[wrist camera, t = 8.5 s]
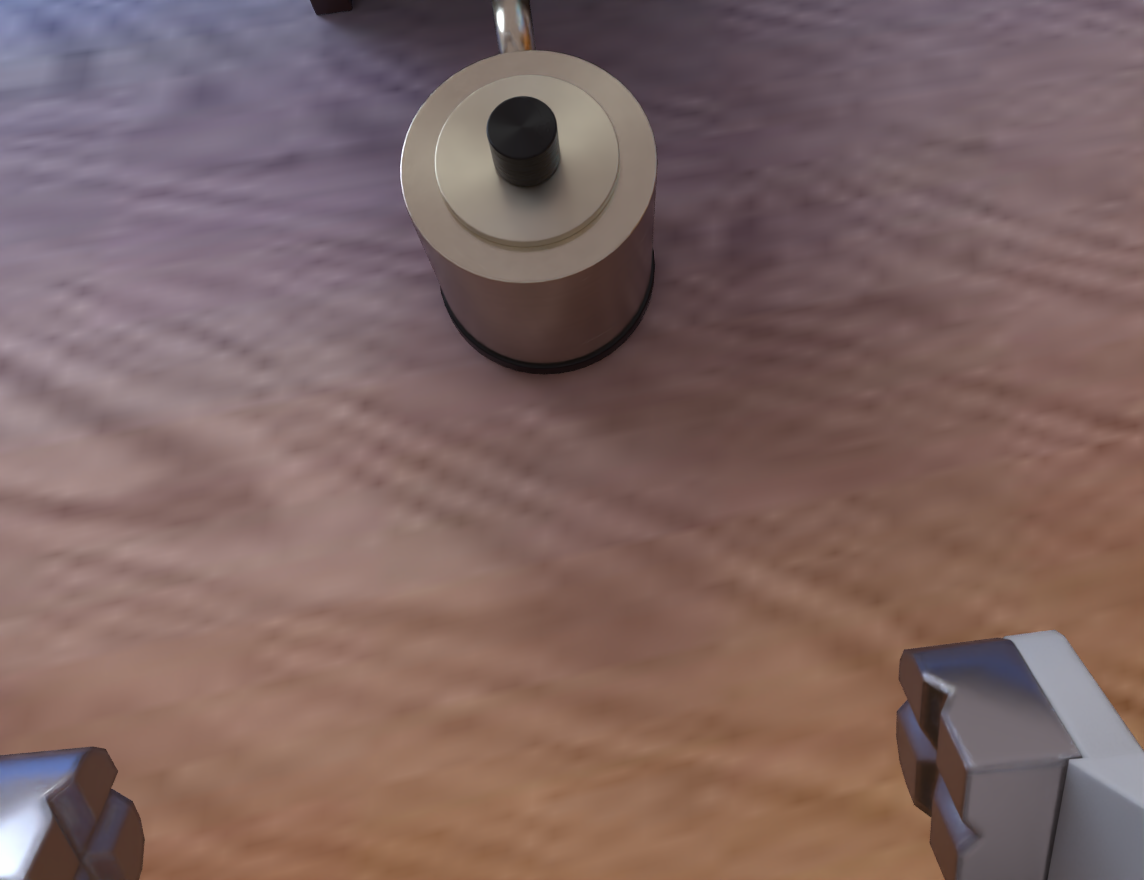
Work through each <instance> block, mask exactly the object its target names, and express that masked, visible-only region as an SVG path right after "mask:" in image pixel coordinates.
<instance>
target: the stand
mask: <svg viewBox="0 0 1144 880" xmlns="http://www.w3.org/2000/svg"><path fill="white" fill-rule="evenodd" d="M310 1H311V4H312V6H313V8H314V10H315V13H316V14H317V15H321V14H329V13H337V12H344V11H351V10H352V0H310Z"/></svg>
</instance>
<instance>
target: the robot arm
mask: <svg viewBox="0 0 1144 880" xmlns="http://www.w3.org/2000/svg"><path fill="white" fill-rule="evenodd" d="M899 681H900V684H901V686H902V688H903V690H904V693H905V695H906V697H907V701H906V702H905V703H904V704H903V705H902V706H901V707H900V708H899V710H898V711H897V721H896V738H897V745H898V753H899V760H900V765H901V768H902V772H903V775H904V779H905V782H906V785H907V788H908V790H909V793H910V795H911V798H912V801H913V803H914V805H915V806H916V807H918V808H919V809H920V810H922V811H923V812H925V813H926V814H927V815H929V816H930V817H931V830H930V845H931V848H932V850H933V852H934V855H935V857H936V860H937V862H938V864H939V867H940V869H941V872H942V874H943V876H944V879H945V880H1144V750H1143V749H1142V748H1141V746H1140V745H1139V743H1138V742H1137V740H1136V739H1135V737H1134V736H1133V735H1132V733H1131V732H1130V730H1129V729H1128V727H1127V726H1126V724H1125V723H1124V721H1123V720H1122V719H1121V717H1120V716H1119V714H1118V713H1117V711H1116V710H1115V708H1114V707H1113V706H1112V704H1111V703H1110V701H1109V700H1108V698H1107V697H1106V695H1105V694H1104V693H1103V691H1102V690H1101V688H1100V687H1099V685H1098V684H1097V682H1096V681H1095V680H1094V678H1093V677H1092V675H1091V674H1090V672H1089V671H1088V669H1087V668H1086V667H1085V665H1084V664H1083V662H1082V661H1081V659H1080V658H1079V656H1078V655H1077V653H1076V652H1075V651H1074V649H1073V648H1072V646H1071V645H1070V643H1069V642H1068V640H1067V639H1066V638H1065V636H1064V635H1062V634H1060V633H1059V632H1057V631H1056V630H1049V631H1042V632H1034V633H1027V634H1019V635H1012V636H1005V637H1003V638H991V639H983V640H975V641H967V642H960V643H952V644H944V645H936V646H928V647H921V648H913V649H905V650H904V651H903V653H902V656H901V658H900V665H899ZM117 773H118V770H117V768H116V767H115V765H114V763H113V761H112V759H111V757H110V756H109V754H108V752H107V750H106V749H104V748H98V747H84V748H73V749H62V750H52V751H41V752H31V753H20V754H9V755H0V880H139V878H140V875H141V872H142V866H143V854H144V841H145V839H144V834H143V829H142V823H141V818H140V816H139V814H138V812H137V810H136V807H135V805H134V803H133V801H131V800H130V799H128V798H126V797H125V796H123V795H121V794H120V793H118V792H116V791H115V790H113V789H111V787H112V785H113V783H114V780H115V778H116V775H117Z"/></svg>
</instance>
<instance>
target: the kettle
mask: <svg viewBox="0 0 1144 880" xmlns="http://www.w3.org/2000/svg"><path fill="white" fill-rule="evenodd" d="M491 2H492V9H493V16H494V23H495V30H496V37H497V44H498V50H499V54H498V55H495V56H492V57H488V58H485V59H482V60H480V61H478V62H476V63H473V64H471V65H469V66H467V67H465V68H464V69H462V70H460V71H459V72H457V73H455V74H454V75H452V76H451V77H450V78H449V79H447V80H446V81H445V82H443V83H442V84H441V85H440V86H439V87H438V88H437V89H436V90H435V91H434V92H433V93H432V94H431V95H430V96H429V97H428V98H427V100H426V101H425V102H424V103H423V105H422V106H421V107H420V109H419V111H418V112H417V114H416V116H415V117H414V119H413V121H412V123H411V125H410V128H409V130H408V132H407V134H406V138H405V141H404V145H403V148H402V154H401V161H400V182H401V189H402V195H403V199H404V202H405V205H406V208H407V211H408V213H409V216H410V218H411V220H412V222H413V225H414V227H415V229H416V232H417V234H418V236H419V238H420V241H421V243H422V245H423V248H424V250H425V252H426V254H427V257H428V259H429V261H430V264H431V266H432V268H433V270H434V273H435V275H436V277H437V280H438V282H439V284H440V288H441V294H442V297H443V300H444V303H445V306H446V308H447V311H448V313H449V315H450V317H451V319H452V321H453V323H454V325H455V326H456V328H457V329H458V331H459V332H460V334H461V335H462V336H463V337H464V338H465V340H466V341H467V342H468V343H469V344H470V345H471V346H472V347H473V348H475V349H476V350H477V351H478V352H479V353H481V354H482V355H484V356H485V357H487V358H488V359H490V360H492V361H494V362H496V363H498V364H500V365H502V366H504V367H507V368H510V369H513V370H516V371H521V372H527V373H534V374H556V373H564V372H569V371H574V370H577V369H580V368H583V367H586V366H589V365H591V364H593V363H595V362H597V361H599V360H601V359H603V358H604V357H606V356H607V355H609V354H611V353H612V352H613V351H614V350H616V349H617V348H618V347H619V346H621V345H622V344H623V343H624V342H625V341H626V340H627V339H628V337H629V336H630V335H631V334H632V333H633V332H634V330H635V329H636V327H637V326H638V325H639V323H640V321H641V320H642V318H643V316H644V314H645V312H646V310H647V307H648V304H649V301H650V299H651V295H652V290H653V285H654V270H655V262H654V251H653V231H654V215H655V198H656V182H657V165H658V160H657V147H656V143H655V138H654V134H653V131H652V128H651V125H650V123H649V120H648V118H647V116H646V114H645V112H644V111H643V109H642V107H641V105H640V104H639V103H638V101H637V100H636V99H635V97H634V96H633V95H632V93H631V92H630V91H629V90H628V89H627V88H626V87H625V86H624V85H623V84H622V83H621V82H620V81H619V80H617V79H616V78H615V77H613V76H612V75H611V74H610V73H608V72H607V71H605V70H603V69H602V68H600V67H598V66H596V65H595V64H593V63H590V62H588V61H586V60H583V59H581V58H578V57H575V56H571V55H568V54H564V53H559V52H552V51H543V50H536V47H535V39H534V31H533V23H532V15H531V8H530V0H491Z"/></svg>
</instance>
